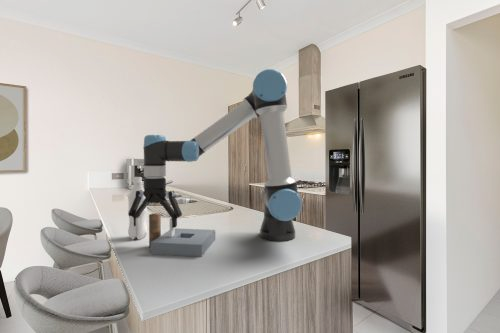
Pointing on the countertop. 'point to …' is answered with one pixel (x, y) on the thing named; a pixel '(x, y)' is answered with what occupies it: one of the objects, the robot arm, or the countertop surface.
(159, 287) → the countertop surface
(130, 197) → the water bottle
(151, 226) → the peg
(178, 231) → the socket board
